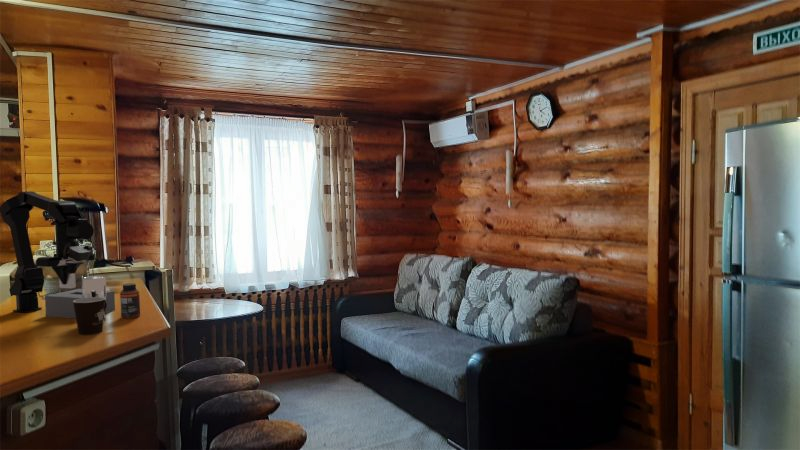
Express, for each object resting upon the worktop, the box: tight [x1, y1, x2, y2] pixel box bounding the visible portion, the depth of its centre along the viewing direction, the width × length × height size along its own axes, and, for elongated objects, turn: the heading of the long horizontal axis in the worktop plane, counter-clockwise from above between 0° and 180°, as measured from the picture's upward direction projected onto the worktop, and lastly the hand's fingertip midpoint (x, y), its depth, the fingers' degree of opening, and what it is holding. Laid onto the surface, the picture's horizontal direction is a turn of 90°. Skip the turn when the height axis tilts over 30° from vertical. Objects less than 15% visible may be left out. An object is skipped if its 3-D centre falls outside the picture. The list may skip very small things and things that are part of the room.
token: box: [58, 273, 77, 289], centre depth 196 cm, size 5×2×5 cm, turn 72°
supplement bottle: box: [119, 282, 141, 320], centre depth 195 cm, size 6×6×11 cm
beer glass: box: [81, 275, 107, 324], centre depth 186 cm, size 7×7×15 cm
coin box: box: [44, 288, 116, 319], centre depth 201 cm, size 16×14×7 cm
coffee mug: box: [73, 297, 107, 336], centre depth 176 cm, size 12×9×10 cm
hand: (67, 283), depth 196 cm, fingers closed on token, 2 cm apart
